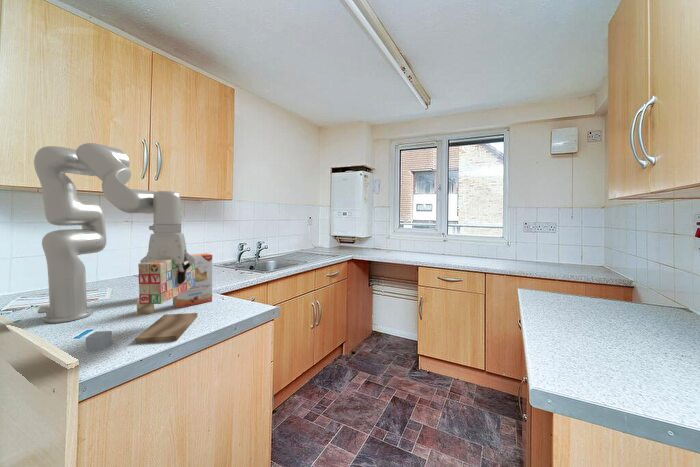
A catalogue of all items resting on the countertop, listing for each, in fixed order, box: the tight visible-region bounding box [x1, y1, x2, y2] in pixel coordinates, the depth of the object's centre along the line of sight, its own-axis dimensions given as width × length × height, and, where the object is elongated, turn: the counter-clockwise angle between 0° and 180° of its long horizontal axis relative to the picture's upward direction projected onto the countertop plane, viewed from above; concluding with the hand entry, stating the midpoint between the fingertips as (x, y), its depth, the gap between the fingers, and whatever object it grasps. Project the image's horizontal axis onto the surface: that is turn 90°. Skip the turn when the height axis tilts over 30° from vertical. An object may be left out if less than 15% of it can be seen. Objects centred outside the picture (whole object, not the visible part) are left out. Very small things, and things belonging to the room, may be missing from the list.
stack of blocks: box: [137, 259, 195, 305], centre depth 93 cm, size 21×6×12 cm, turn 4°
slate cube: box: [85, 330, 113, 352], centre depth 80 cm, size 4×4×4 cm
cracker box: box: [172, 252, 213, 309], centre depth 119 cm, size 14×6×21 cm, turn 137°
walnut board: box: [134, 312, 198, 344], centre depth 94 cm, size 11×20×2 cm, turn 12°
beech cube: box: [136, 298, 155, 317], centre depth 108 cm, size 5×5×5 cm
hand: (169, 283), depth 93 cm, fingers closed on stack of blocks, 6 cm apart
